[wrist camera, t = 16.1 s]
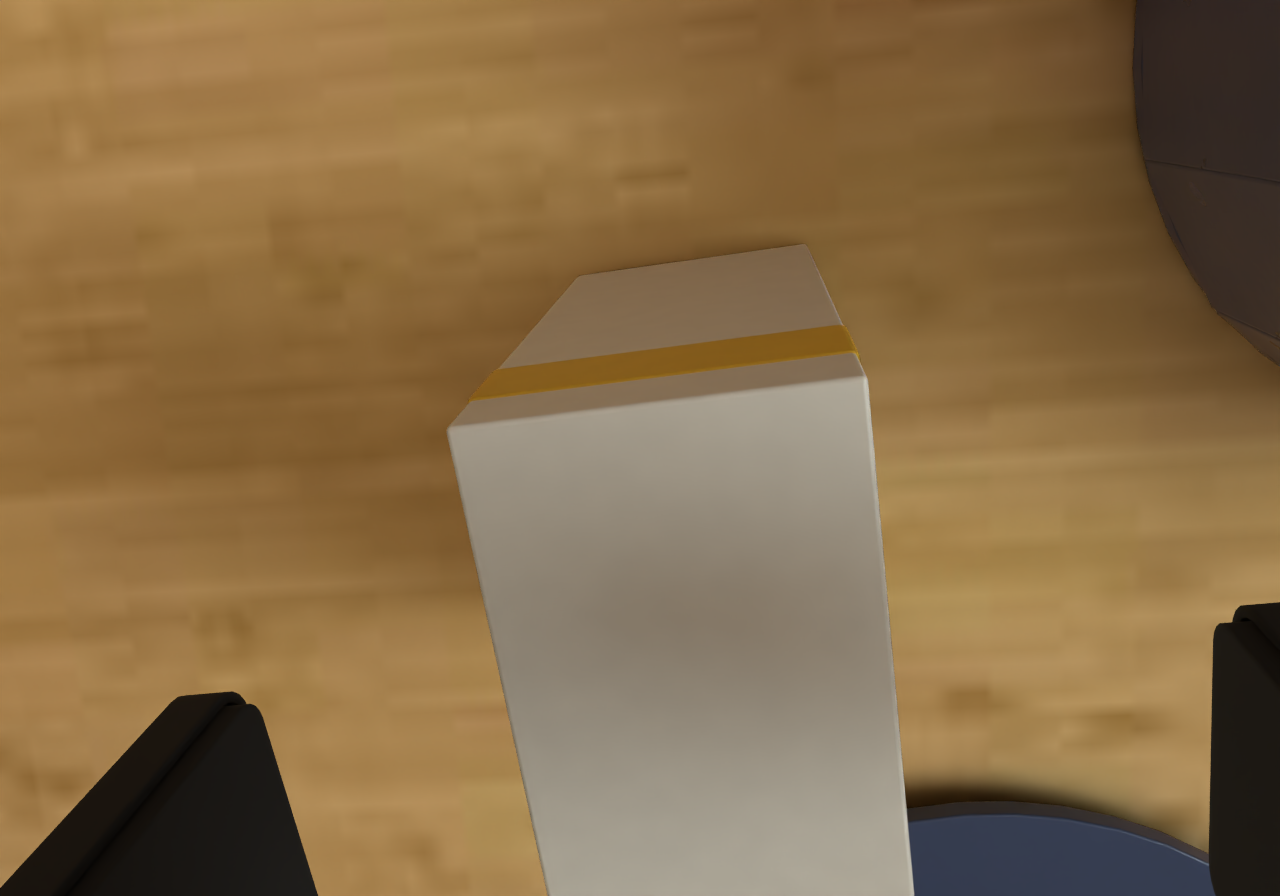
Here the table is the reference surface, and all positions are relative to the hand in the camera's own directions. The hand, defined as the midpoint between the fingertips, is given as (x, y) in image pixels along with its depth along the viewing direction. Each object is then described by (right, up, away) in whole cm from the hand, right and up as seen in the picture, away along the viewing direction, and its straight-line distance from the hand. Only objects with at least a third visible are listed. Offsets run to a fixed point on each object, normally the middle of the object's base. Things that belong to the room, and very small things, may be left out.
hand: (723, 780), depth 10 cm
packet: (+1, +3, +11) cm, 12 cm away
